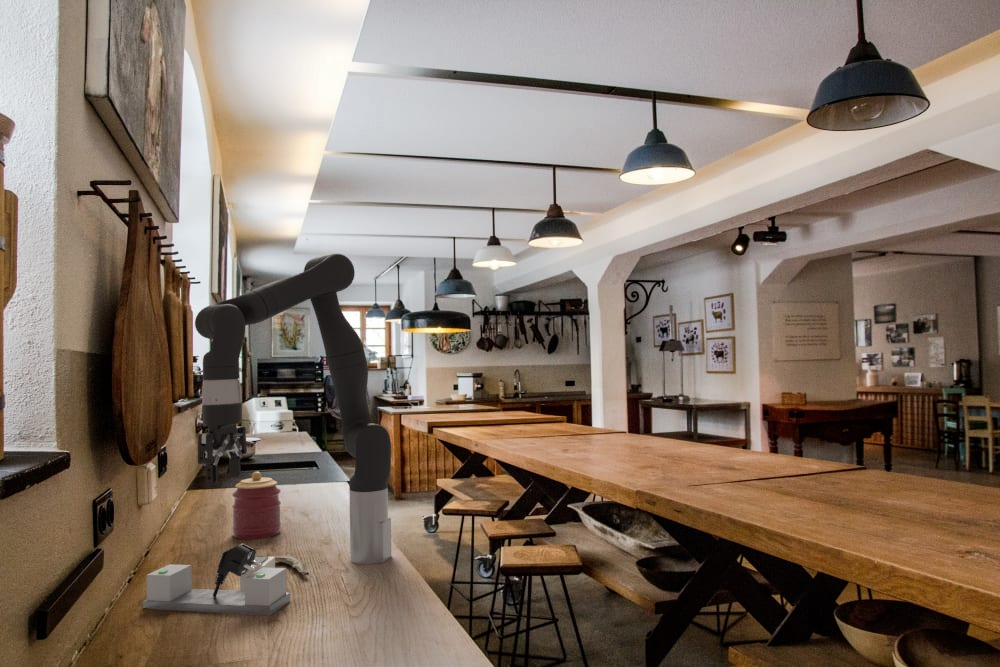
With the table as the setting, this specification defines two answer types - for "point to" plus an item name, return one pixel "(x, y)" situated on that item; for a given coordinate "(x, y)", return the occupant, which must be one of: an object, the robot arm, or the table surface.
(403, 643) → the table surface
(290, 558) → the jawbone
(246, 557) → the power plug
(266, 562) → the block
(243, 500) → the canister
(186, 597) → the rail base
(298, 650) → the table surface
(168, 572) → the mounted modules
